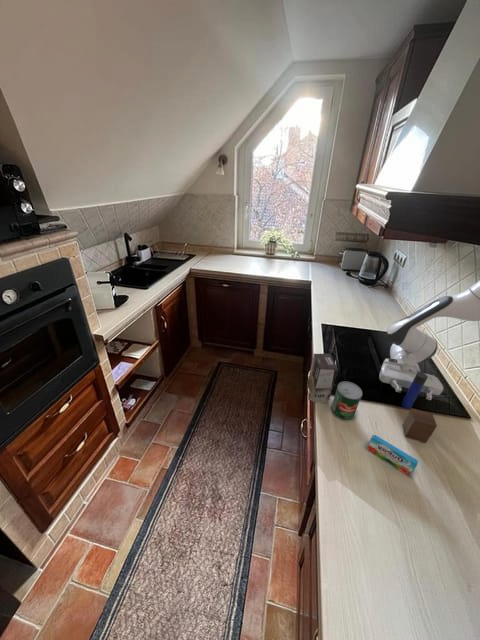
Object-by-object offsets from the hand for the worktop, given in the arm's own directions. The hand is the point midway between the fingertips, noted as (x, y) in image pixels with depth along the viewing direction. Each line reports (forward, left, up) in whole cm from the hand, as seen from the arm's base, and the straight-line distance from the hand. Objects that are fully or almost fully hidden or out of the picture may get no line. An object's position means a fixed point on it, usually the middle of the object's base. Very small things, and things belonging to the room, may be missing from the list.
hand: (413, 394), depth 90 cm
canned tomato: (+24, -5, -7) cm, 26 cm away
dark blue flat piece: (+2, +3, -4) cm, 5 cm away
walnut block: (+7, +9, -7) cm, 13 cm away
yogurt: (+22, +14, -7) cm, 27 cm away
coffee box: (+28, -15, -7) cm, 33 cm away
